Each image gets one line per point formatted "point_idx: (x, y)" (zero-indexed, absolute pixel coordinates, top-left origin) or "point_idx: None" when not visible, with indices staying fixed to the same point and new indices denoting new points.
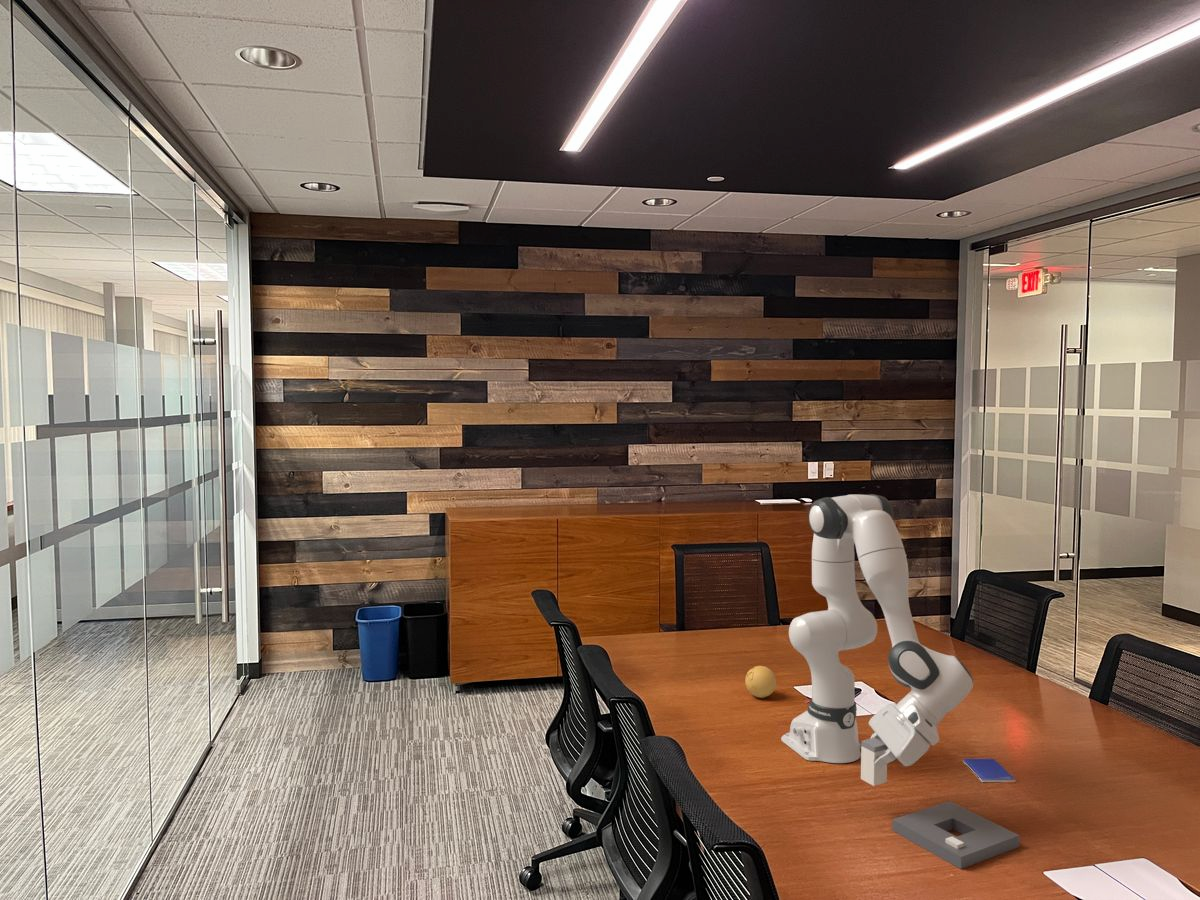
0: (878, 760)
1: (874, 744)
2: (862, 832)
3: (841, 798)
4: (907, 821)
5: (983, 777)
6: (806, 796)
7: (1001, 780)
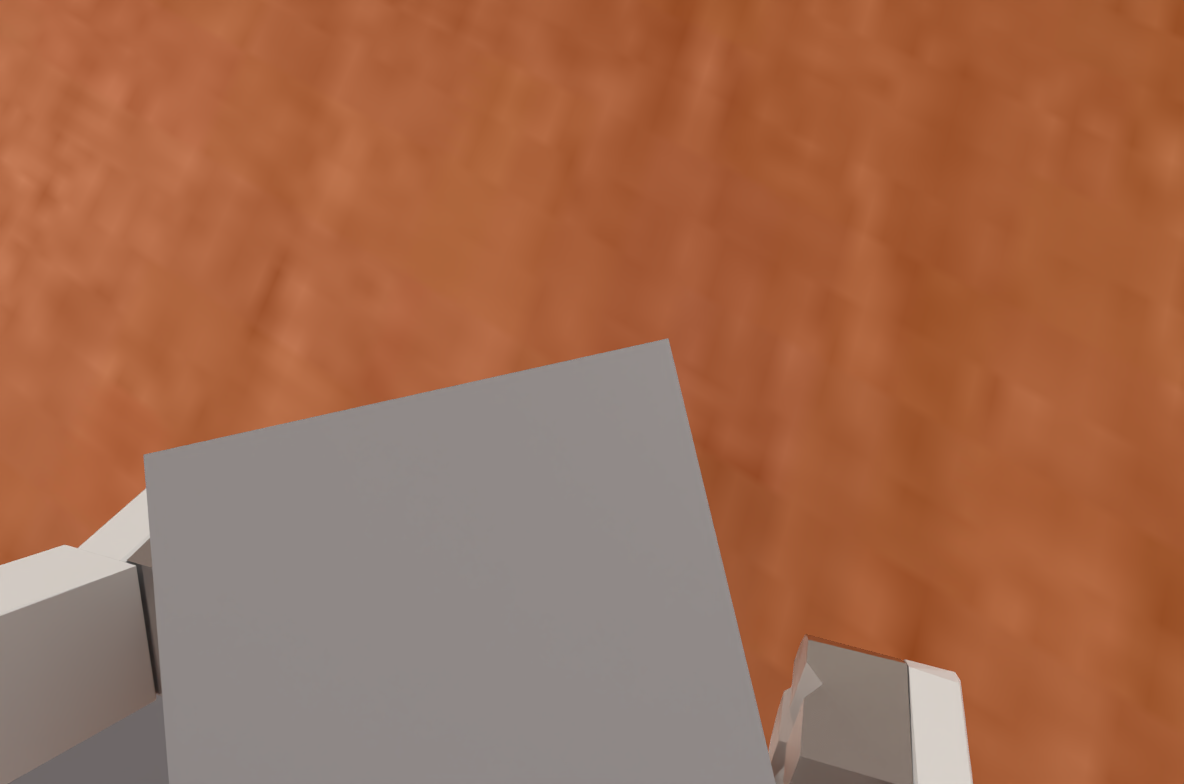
0: (123, 511)
1: (311, 576)
2: (346, 374)
3: (974, 541)
4: (137, 761)
5: None
6: (1080, 253)
7: None
